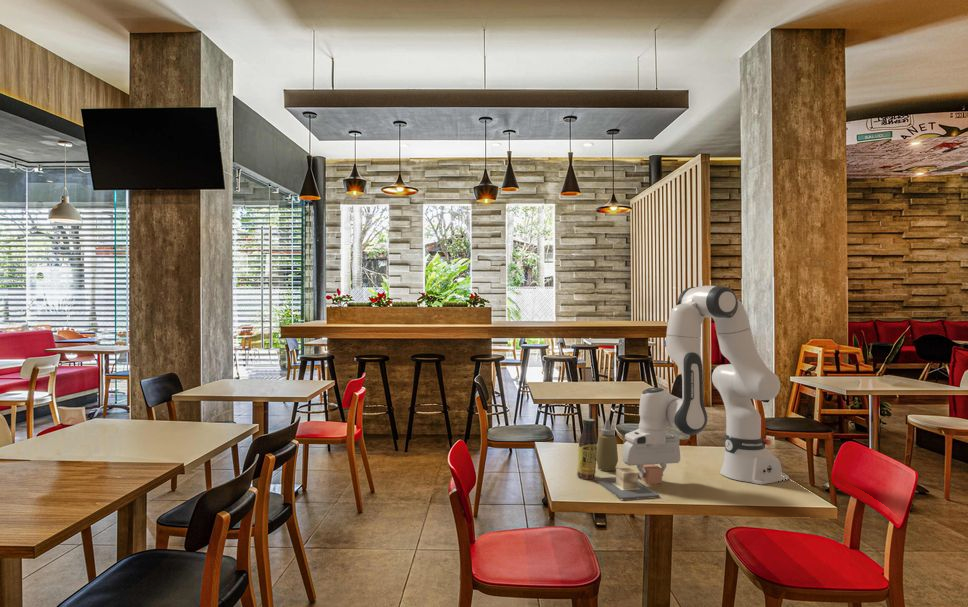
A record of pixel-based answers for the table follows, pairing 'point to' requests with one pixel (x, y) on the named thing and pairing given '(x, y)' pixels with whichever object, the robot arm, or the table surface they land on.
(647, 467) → the terracotta block
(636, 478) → the birch block
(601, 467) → the squeeze bottle
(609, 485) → the board
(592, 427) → the sauce bottle
